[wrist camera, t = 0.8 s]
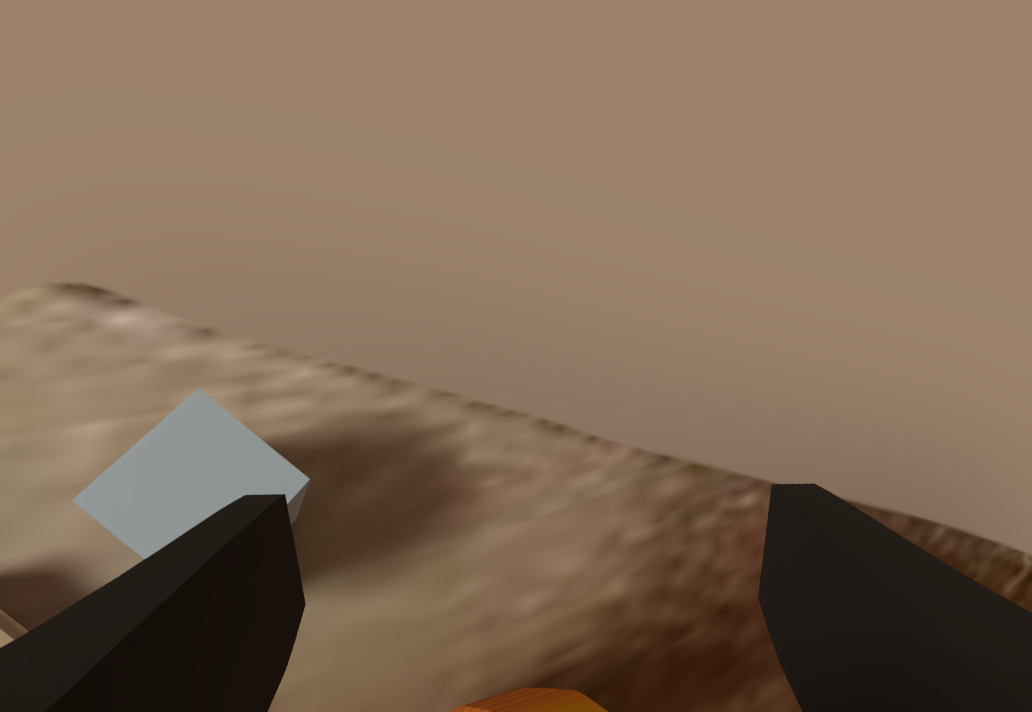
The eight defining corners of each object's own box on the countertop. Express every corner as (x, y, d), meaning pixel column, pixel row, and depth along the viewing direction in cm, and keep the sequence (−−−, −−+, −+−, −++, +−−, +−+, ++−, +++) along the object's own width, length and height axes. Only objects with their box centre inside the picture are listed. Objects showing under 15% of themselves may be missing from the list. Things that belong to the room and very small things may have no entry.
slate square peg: (213, 612, 22) (197, 602, 16) (121, 538, 22) (71, 500, 16) (296, 519, 24) (310, 479, 18) (212, 450, 24) (198, 388, 18)
